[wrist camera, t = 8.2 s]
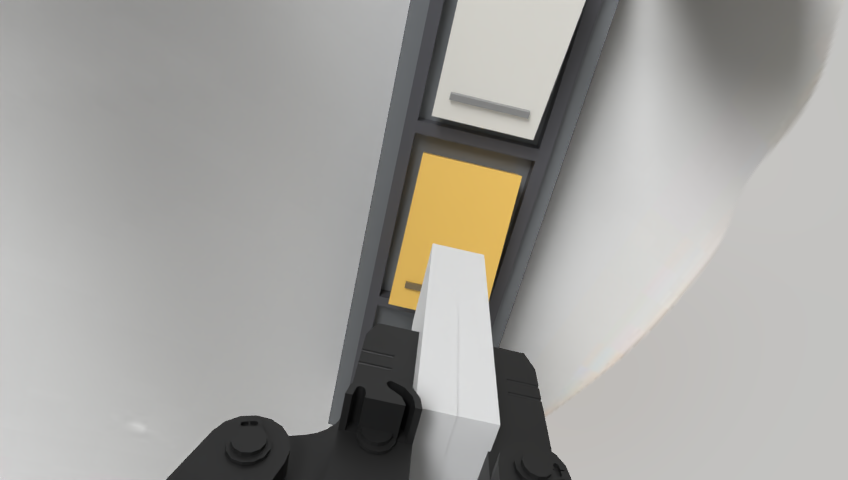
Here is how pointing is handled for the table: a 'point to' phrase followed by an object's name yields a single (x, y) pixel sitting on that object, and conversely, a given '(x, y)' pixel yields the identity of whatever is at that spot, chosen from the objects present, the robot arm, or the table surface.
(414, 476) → the robot arm
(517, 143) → the power strip
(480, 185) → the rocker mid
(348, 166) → the table surface
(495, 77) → the block
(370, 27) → the table surface
